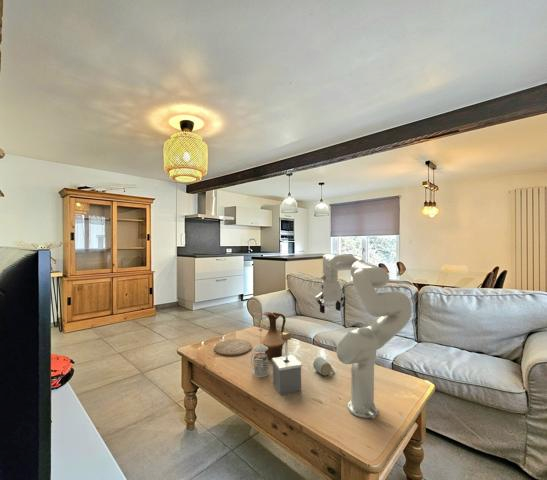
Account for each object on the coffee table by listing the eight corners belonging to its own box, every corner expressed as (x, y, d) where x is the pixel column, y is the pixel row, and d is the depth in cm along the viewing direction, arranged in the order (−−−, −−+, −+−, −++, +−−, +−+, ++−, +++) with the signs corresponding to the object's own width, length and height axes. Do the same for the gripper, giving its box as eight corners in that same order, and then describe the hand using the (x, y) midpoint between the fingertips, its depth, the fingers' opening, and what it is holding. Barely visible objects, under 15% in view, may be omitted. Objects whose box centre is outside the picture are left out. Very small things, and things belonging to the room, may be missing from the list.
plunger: (293, 369, 143) (292, 334, 142) (283, 371, 141) (283, 335, 141) (289, 365, 147) (289, 331, 147) (280, 367, 146) (279, 332, 145)
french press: (273, 372, 160) (273, 328, 159) (258, 380, 151) (258, 333, 150) (261, 366, 166) (260, 324, 166) (246, 374, 158) (245, 329, 157)
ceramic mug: (321, 378, 153) (321, 363, 153) (312, 371, 160) (312, 357, 160) (337, 373, 158) (337, 360, 157) (328, 367, 165) (328, 354, 165)
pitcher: (289, 352, 186) (289, 309, 185) (284, 363, 170) (284, 317, 169) (264, 349, 191) (263, 307, 190) (256, 360, 174) (255, 315, 173)
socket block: (301, 390, 141) (301, 364, 140) (279, 395, 137) (279, 368, 137) (290, 375, 156) (289, 351, 155) (269, 379, 152) (269, 354, 152)
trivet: (206, 351, 190) (206, 348, 190) (232, 339, 211) (232, 336, 211) (234, 360, 176) (234, 357, 176) (259, 346, 196) (259, 343, 196)
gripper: (319, 280, 140) (320, 315, 140) (348, 278, 147) (348, 311, 147) (311, 278, 146) (312, 311, 147) (339, 276, 153) (339, 307, 154)
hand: (330, 311), depth 147 cm, fingers open, 9 cm apart
